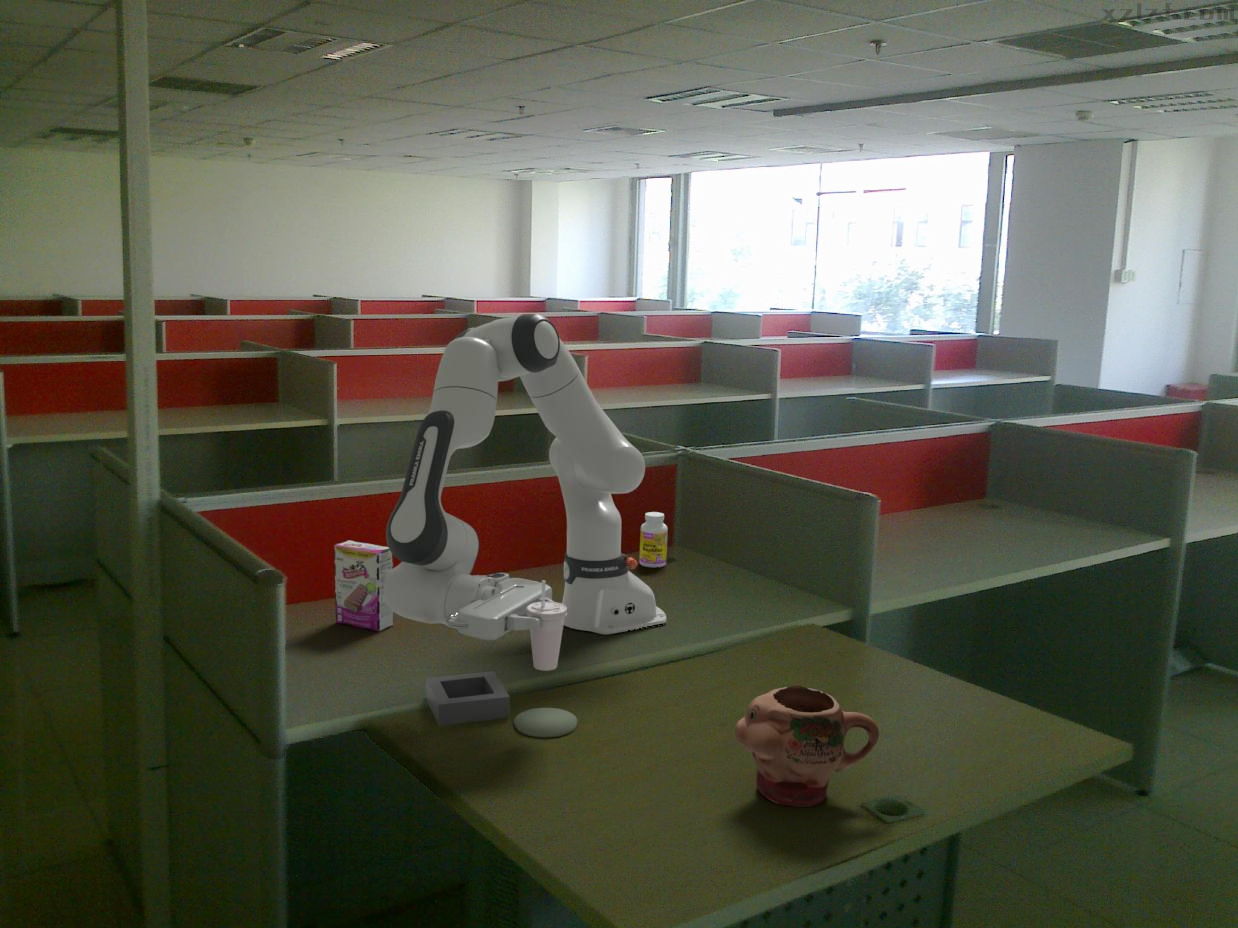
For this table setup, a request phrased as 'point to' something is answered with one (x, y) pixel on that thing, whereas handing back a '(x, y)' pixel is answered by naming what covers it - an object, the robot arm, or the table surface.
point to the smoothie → (546, 632)
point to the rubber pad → (545, 722)
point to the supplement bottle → (653, 541)
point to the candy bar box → (362, 585)
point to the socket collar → (467, 698)
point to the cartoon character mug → (799, 742)
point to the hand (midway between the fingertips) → (551, 617)
